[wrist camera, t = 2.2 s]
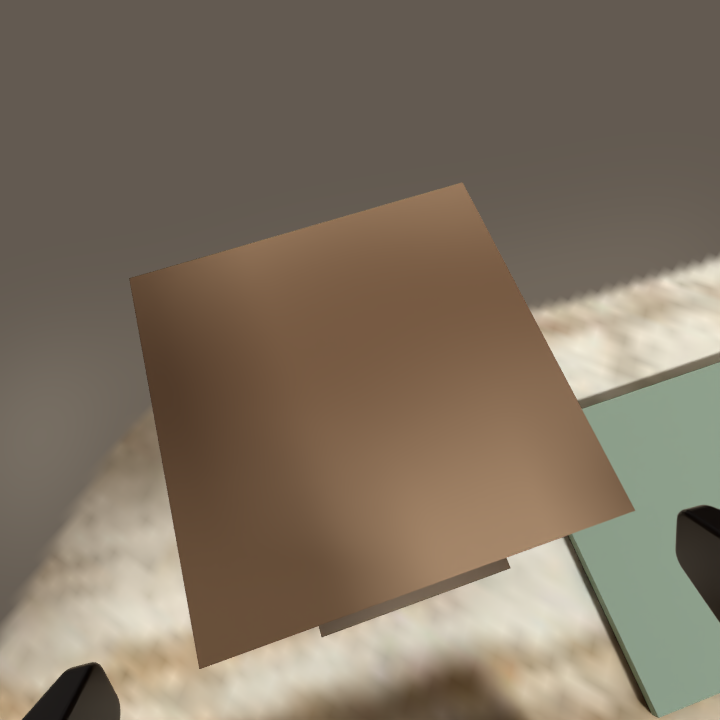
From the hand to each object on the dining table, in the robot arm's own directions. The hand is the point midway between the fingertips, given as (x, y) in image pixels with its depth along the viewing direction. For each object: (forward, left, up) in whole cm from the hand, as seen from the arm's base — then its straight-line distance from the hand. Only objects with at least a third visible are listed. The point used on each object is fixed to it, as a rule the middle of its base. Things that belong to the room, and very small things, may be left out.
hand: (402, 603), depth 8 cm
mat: (-1, -11, -10) cm, 15 cm away
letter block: (+3, 0, -10) cm, 10 cm away
